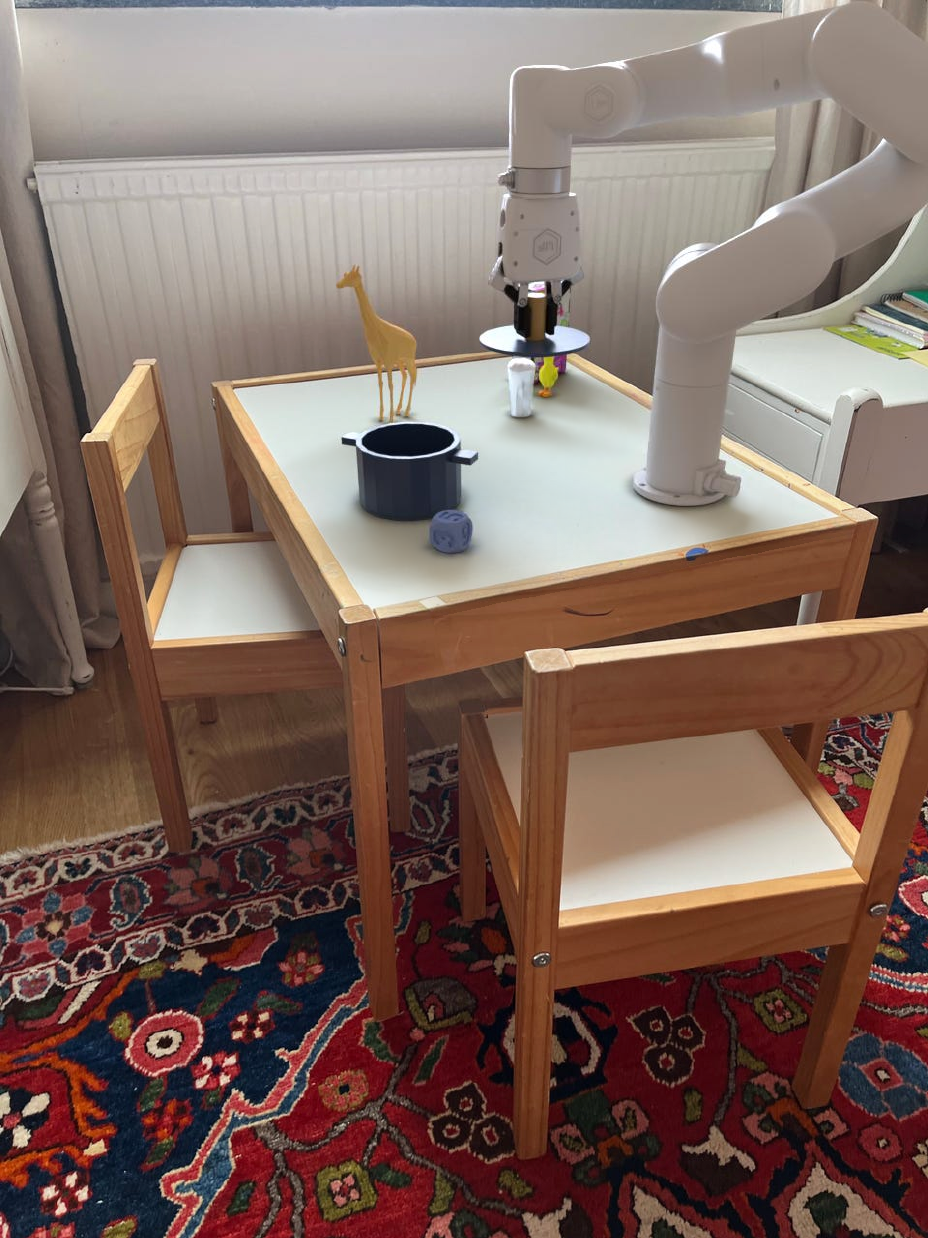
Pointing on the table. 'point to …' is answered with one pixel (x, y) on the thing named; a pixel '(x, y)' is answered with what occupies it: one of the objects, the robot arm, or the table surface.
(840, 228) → the robot arm
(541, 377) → the toy figure
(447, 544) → the decorative dice
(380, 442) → the blue cooking pot
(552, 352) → the lid
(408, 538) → the table surface
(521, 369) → the milkshake
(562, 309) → the candy bar box
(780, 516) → the table surface
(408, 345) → the giraffe
